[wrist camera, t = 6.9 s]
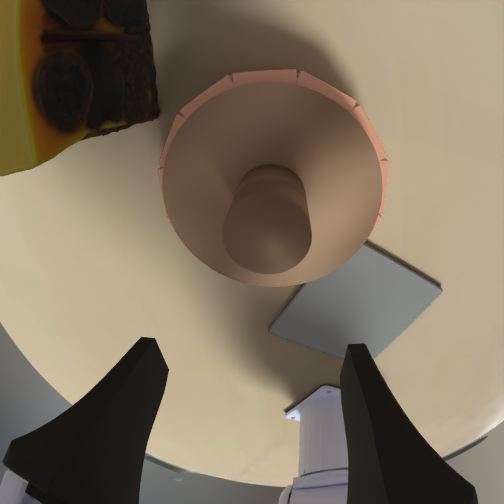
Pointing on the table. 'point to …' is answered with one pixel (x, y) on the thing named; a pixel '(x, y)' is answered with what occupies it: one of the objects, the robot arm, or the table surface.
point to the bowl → (283, 77)
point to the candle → (71, 75)
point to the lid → (272, 184)
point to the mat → (356, 305)
